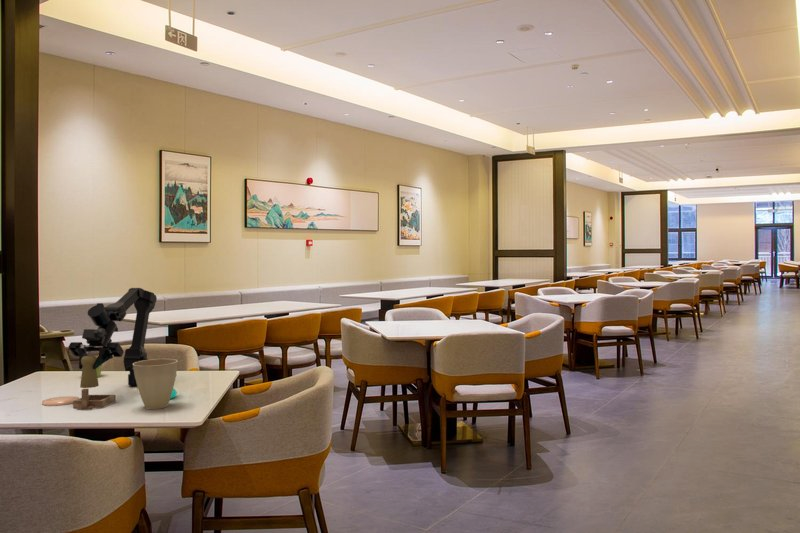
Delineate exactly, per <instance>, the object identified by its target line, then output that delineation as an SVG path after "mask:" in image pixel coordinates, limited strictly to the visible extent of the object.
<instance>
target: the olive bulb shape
mask: <svg viewBox="0 0 800 533" xmlns="http://www.w3.org/2000/svg"><path fill="white" fill-rule="evenodd" d="M96 356H97V355H91V354H90V355H89V354H88V356H84V357H82V359H81V364H82V365H83V368H82V369H81V377H80V386H79V387H80V388H82V389H91V388H95V387H99V385H100V384H99V379H98V378H99V377H97V372H96V369H93V366H94V363H95V361H96V359H97V358H96Z"/></svg>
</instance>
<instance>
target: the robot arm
mask: <svg viewBox="0 0 800 533" xmlns="http://www.w3.org/2000/svg"><path fill="white" fill-rule="evenodd" d="M156 303H157V295H155V293H154V292H151V291H149V290H145V289H144V288H142V287H130V288H128V290H127V292H125V294H124V295H123V296H122V297H120V299H118V300H117V301H116V302H115V303H110V304H108V305H106V306H105V305H104V303H101V302H100V303H96V305H94V306H92V307H90V308H89V309H88V310H87V315H88V318H90V320H91V321H92V323H93V324H94V325H95V326H96V327H97V329H93V328H88V329H87V328H85V329H83V331H82V336H81V338H82V339H83V340H86V344H87V345H86V344H84V343H82V342H81V341H73V342H70V343H69V345H68V346H67V348H68V350H69V351H70V352H71V354H72V355H73V356H74V357H79V358H78V369H79V370H82V368H83V365H82V364H81V359H82V357H84V356H89V354H88V353H98V355H97V356H98V357H97V359H96V361H95V363H94V366H93V369H96V368H98V367H99V366H100V365H102V366H103V364H104V363H106V362H108V361H110V359H114V358H122V357H123V355H124V357H123V361H122V362H123V365H124V371H125V372H129V373H128V374H127V385H128V386H129V388H135V387H137V383H136V379H135V375H134V369H133V363H135V362H139V361H144V360H149V359H148V357H147V356H148V353H147V351H146V348H145V343H146V337H147V329H148V324H149V317H150V314H151V312H152V311H153V310H154V308H155V306H156ZM132 306H133V307H134V308H135V310H136V315H135V316H136V317H135V321H134V328H133V334H132V339H131V346H130V347H129V348H126V349H125V350H124V349H123V347H122V346H121V345H120V343H119V342H112V341H113V340H112V336H113V334H114V332H118V331H119V327H118V326H117V324H116V323H115V322H122V321H123V320H124V319H125V317H126V316H127V310H128V309H129V308H130V307H132Z"/></svg>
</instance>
